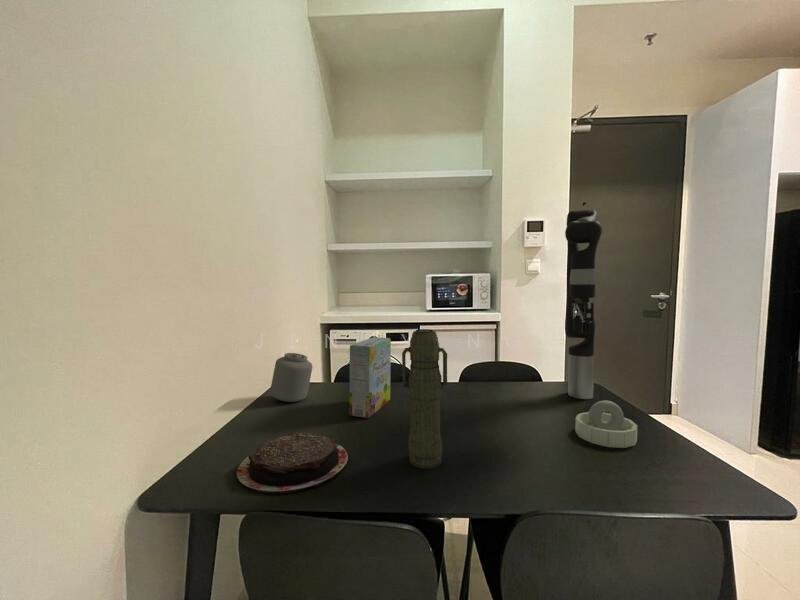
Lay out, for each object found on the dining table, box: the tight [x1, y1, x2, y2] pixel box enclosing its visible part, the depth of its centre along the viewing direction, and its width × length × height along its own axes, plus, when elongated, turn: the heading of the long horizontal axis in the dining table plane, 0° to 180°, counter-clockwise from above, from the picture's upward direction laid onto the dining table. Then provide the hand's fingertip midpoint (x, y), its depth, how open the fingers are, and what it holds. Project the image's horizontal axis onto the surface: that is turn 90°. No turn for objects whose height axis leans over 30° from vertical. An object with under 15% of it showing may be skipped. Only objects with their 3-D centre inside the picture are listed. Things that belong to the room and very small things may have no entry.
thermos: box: [401, 328, 448, 469], centre depth 98 cm, size 9×12×35 cm
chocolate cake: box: [236, 432, 349, 494], centre depth 97 cm, size 28×28×7 cm
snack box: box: [348, 336, 392, 419], centre depth 139 cm, size 22×9×26 cm, turn 161°
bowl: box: [574, 411, 638, 449], centre depth 112 cm, size 16×16×4 cm
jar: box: [269, 338, 313, 403], centre depth 150 cm, size 19×15×25 cm
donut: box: [588, 400, 625, 431], centre depth 112 cm, size 10×4×10 cm, turn 83°
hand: (581, 331), depth 122 cm, fingers open, 8 cm apart
